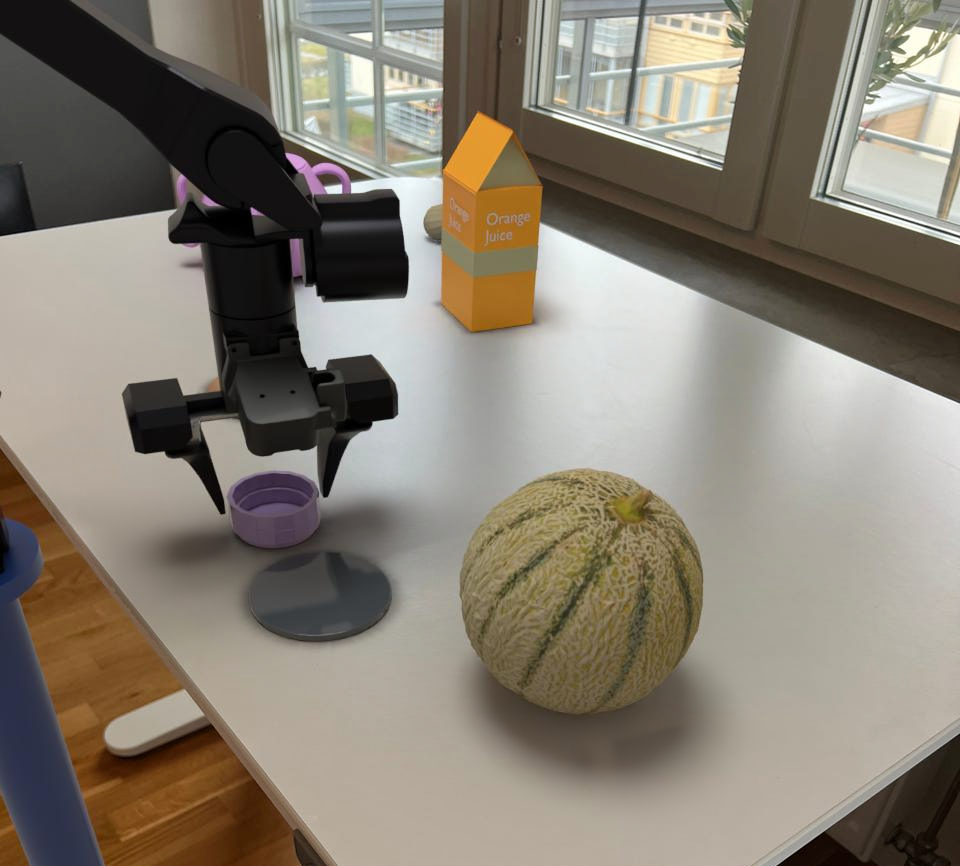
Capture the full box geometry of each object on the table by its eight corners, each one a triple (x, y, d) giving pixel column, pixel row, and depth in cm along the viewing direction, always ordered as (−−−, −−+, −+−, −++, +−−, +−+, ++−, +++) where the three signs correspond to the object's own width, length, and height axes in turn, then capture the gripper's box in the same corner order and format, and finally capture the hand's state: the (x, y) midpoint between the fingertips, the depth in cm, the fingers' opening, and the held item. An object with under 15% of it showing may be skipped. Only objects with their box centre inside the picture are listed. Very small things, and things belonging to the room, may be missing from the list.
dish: (241, 557, 74) (236, 523, 72) (225, 511, 79) (220, 478, 77) (330, 541, 76) (327, 508, 74) (308, 497, 81) (306, 465, 79)
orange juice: (470, 332, 108) (477, 132, 96) (439, 303, 115) (442, 111, 102) (534, 323, 111) (549, 127, 98) (500, 295, 117) (510, 108, 104)
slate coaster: (266, 654, 66) (265, 648, 65) (237, 570, 73) (236, 565, 73) (409, 624, 69) (409, 618, 69) (368, 546, 76) (368, 541, 76)
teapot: (181, 308, 111) (161, 175, 102) (180, 243, 127) (162, 125, 118) (377, 298, 115) (373, 171, 106) (351, 237, 131) (346, 122, 122)
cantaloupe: (457, 609, 70) (462, 416, 61) (662, 613, 71) (699, 423, 61) (456, 762, 59) (463, 554, 49) (701, 765, 59) (754, 560, 50)
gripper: (120, 370, 58) (164, 585, 68) (423, 335, 64) (422, 538, 73) (102, 301, 66) (144, 503, 76) (373, 275, 71) (378, 466, 81)
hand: (274, 503), depth 76 cm, fingers open, 8 cm apart
